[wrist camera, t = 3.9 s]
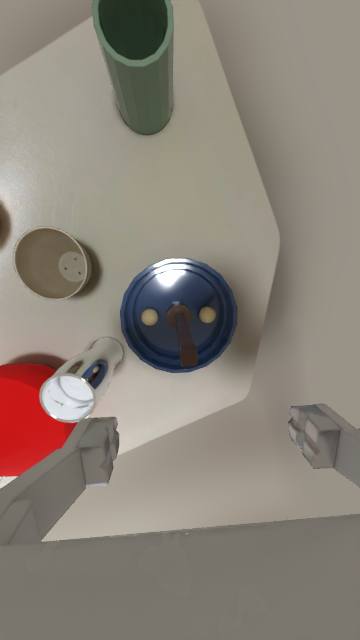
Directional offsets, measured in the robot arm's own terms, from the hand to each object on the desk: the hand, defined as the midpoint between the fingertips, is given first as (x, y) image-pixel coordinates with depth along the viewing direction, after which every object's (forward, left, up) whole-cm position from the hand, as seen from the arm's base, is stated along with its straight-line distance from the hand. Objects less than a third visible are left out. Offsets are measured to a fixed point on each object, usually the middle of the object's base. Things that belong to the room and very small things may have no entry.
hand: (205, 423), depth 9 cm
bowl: (0, 0, -28) cm, 28 cm away
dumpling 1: (+5, 0, -26) cm, 27 cm away
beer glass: (+14, +7, -28) cm, 32 cm away
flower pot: (+18, -9, -28) cm, 35 cm away
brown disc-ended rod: (0, 0, -28) cm, 28 cm away
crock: (+4, -33, -28) cm, 44 cm away
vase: (+27, +15, -28) cm, 42 cm away
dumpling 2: (-5, 0, -26) cm, 27 cm away
